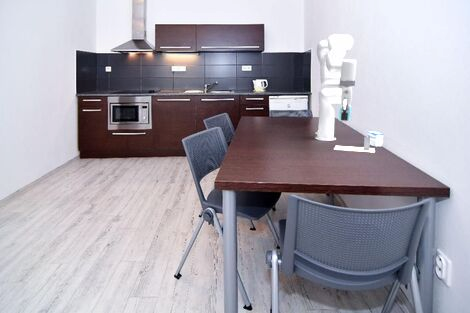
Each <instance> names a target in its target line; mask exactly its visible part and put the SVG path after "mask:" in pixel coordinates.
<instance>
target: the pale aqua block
mask: <svg viewBox="0 0 470 313" xmlns="http://www.w3.org/2000/svg"><path fill="white" fill-rule="evenodd" d="M341 113H342V106H340V107H339V114H338V115H339V116H338V121H341V122H342V121H344V122H350V121H351V115H352V114H351V113H352V106H351V107H350V106H349V107H348V120H341Z"/></svg>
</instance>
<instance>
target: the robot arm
mask: <svg viewBox="0 0 470 313" xmlns="http://www.w3.org/2000/svg"><path fill="white" fill-rule="evenodd" d="M353 46H354V39H353V37H352V36H351V35H349V34H331V35H330V36H328V37H327V39H324V40H323V39H322V40H320V41H319V42H318V43H317V45H316V55H317V59H318V61H319V67H320V69H319V71H320V84H321V86H323V87H324V88H323V87H322V88H321V89H320V90H319V91H318V102H319V103H318V104H319V106H318V107H319V108H318V109H319V111H318V130H317V131H315V134H316V136H314V139H315V140H317V141H324V142H325V141H327V142H328V141H329V142H330V141H336V140H337V138H336V136H334V135H335V122H336V121H335V119H336V110H335V108H334V107H333V104H336V105H337V104H338V105H341V106H340V107H342V113H341V120H348V107H351V108H352V103H353V102H352V101H353V88H355V87H356V85H355V84H356V77H357V76H356V74H357V60H356V59H353V58H352V59H351V58H350V59H349V58H347V59H346V58H345V59H344V57H345V56H346V54H347V53H348V52H350V51H351V50H352V49H353Z"/></svg>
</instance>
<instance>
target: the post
mask: <svg viewBox="0 0 470 313" xmlns="http://www.w3.org/2000/svg"><path fill="white" fill-rule="evenodd" d="M363 139H364V140H363V141H364V142H363V147H364V150H369V148H371V147H370V146H371V145H370V136H367V135H366V136H365V135H364V138H363Z"/></svg>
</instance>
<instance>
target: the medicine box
mask: <svg viewBox="0 0 470 313" xmlns="http://www.w3.org/2000/svg"><path fill="white" fill-rule="evenodd" d="M366 136H370V146H373V147H376V148H377V147H383V142H384V140H383V139H384V133H382V132H377V131H367V135H366Z"/></svg>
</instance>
